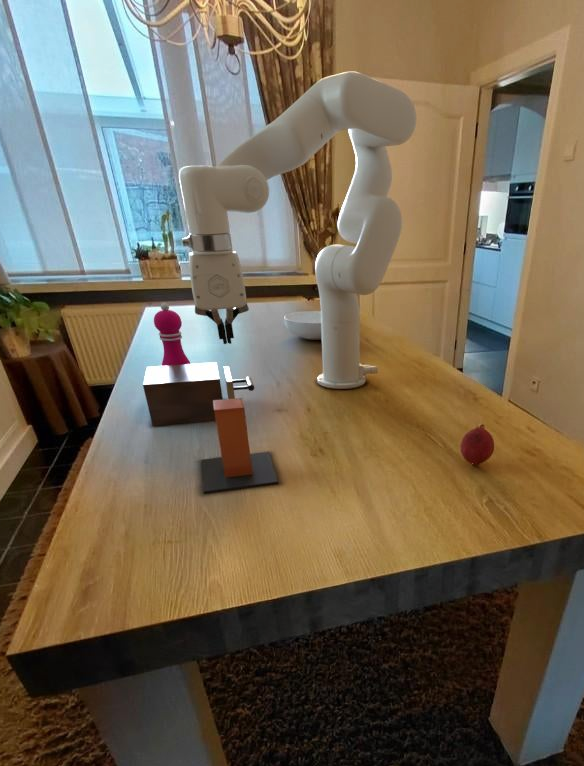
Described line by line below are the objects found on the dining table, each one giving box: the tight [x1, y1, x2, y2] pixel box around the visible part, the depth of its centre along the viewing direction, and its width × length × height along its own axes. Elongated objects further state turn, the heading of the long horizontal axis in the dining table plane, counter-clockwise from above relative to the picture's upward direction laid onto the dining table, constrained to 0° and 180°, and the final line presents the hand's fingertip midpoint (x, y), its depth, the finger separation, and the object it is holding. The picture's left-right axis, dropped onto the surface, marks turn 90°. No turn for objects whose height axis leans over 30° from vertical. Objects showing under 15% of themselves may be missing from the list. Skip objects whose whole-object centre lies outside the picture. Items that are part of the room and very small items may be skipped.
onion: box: [460, 422, 495, 467], centre depth 87 cm, size 6×6×8 cm
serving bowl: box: [283, 310, 322, 341], centre depth 168 cm, size 21×21×7 cm
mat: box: [201, 451, 279, 494], centre depth 86 cm, size 12×12×1 cm
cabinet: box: [142, 361, 224, 427], centre depth 107 cm, size 15×13×9 cm
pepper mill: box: [153, 302, 192, 366], centre depth 117 cm, size 7×7×20 cm
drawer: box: [223, 365, 255, 399], centre depth 108 cm, size 18×12×7 cm, turn 107°
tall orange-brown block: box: [213, 397, 253, 478], centre depth 82 cm, size 5×5×12 cm
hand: (227, 342), depth 104 cm, fingers closed
